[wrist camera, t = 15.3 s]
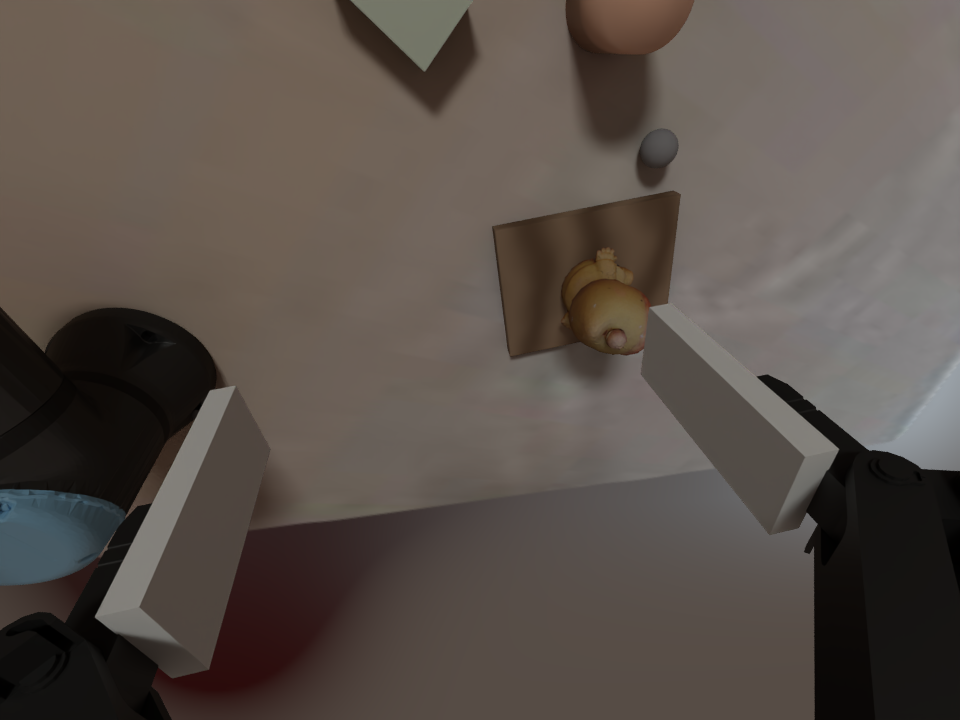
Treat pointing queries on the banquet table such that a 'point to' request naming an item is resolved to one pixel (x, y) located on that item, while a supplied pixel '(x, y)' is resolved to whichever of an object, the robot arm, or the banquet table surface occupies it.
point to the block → (415, 24)
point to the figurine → (605, 305)
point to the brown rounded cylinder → (625, 24)
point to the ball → (659, 148)
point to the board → (566, 242)
